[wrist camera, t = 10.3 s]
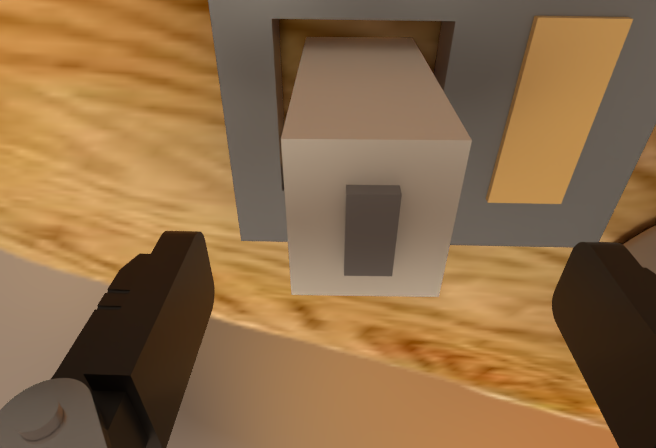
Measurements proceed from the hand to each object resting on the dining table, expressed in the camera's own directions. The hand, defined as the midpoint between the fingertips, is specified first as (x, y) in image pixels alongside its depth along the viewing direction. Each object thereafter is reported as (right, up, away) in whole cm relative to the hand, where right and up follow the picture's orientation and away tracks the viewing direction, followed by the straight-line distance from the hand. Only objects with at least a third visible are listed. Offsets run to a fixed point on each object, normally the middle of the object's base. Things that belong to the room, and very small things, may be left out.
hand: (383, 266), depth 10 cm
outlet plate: (+3, +6, +8) cm, 10 cm away
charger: (0, +6, +8) cm, 10 cm away
